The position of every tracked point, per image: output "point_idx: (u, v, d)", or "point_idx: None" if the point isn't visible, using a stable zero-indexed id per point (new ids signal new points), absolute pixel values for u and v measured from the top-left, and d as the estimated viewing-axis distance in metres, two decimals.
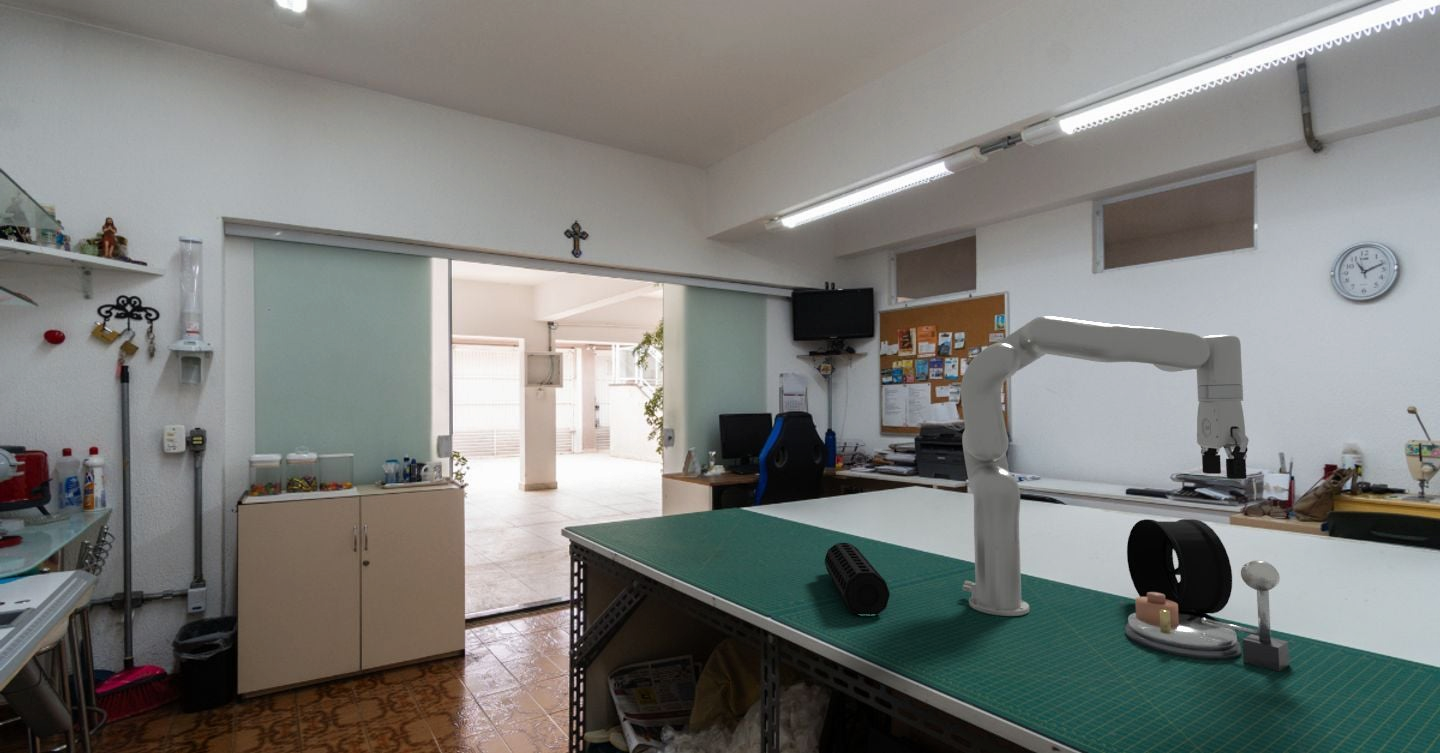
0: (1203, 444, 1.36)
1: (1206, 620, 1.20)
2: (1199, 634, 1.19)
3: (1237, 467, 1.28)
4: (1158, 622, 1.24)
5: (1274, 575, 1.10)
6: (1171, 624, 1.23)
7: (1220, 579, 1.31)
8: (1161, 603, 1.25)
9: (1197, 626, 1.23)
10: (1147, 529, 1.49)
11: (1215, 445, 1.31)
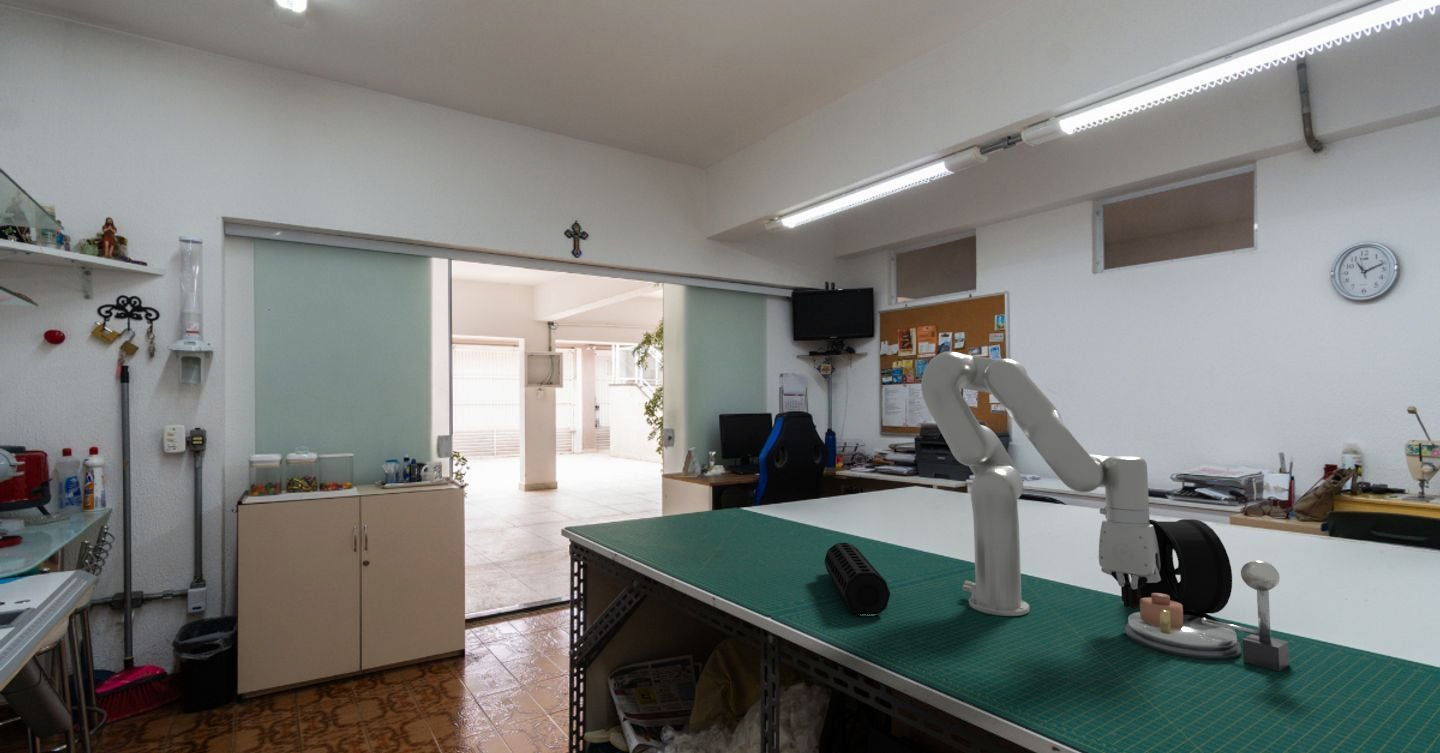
0: (1115, 569, 1.31)
1: (1206, 620, 1.20)
2: (1199, 634, 1.19)
3: (1138, 596, 1.29)
4: None
5: (1274, 575, 1.10)
6: (1176, 625, 1.23)
7: (1220, 579, 1.31)
8: (1166, 604, 1.25)
9: (1197, 626, 1.23)
10: None
11: (1142, 573, 1.27)
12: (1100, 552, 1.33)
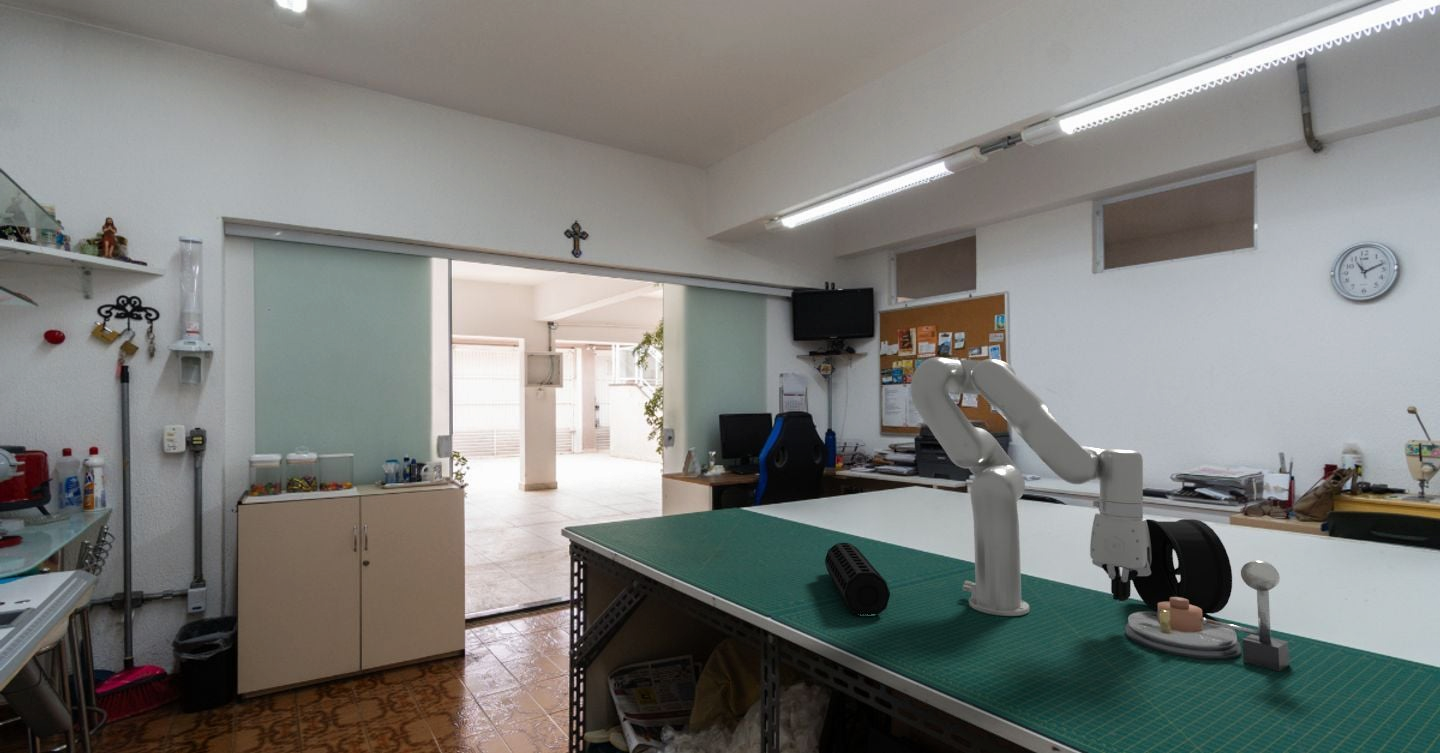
0: (1106, 561, 1.31)
1: (1206, 620, 1.20)
2: (1199, 634, 1.19)
3: (1128, 589, 1.30)
4: (1183, 628, 1.20)
5: (1274, 575, 1.10)
6: (1196, 630, 1.20)
7: (1220, 579, 1.31)
8: (1185, 608, 1.22)
9: None
10: None
11: (1133, 566, 1.27)
12: (1092, 544, 1.33)
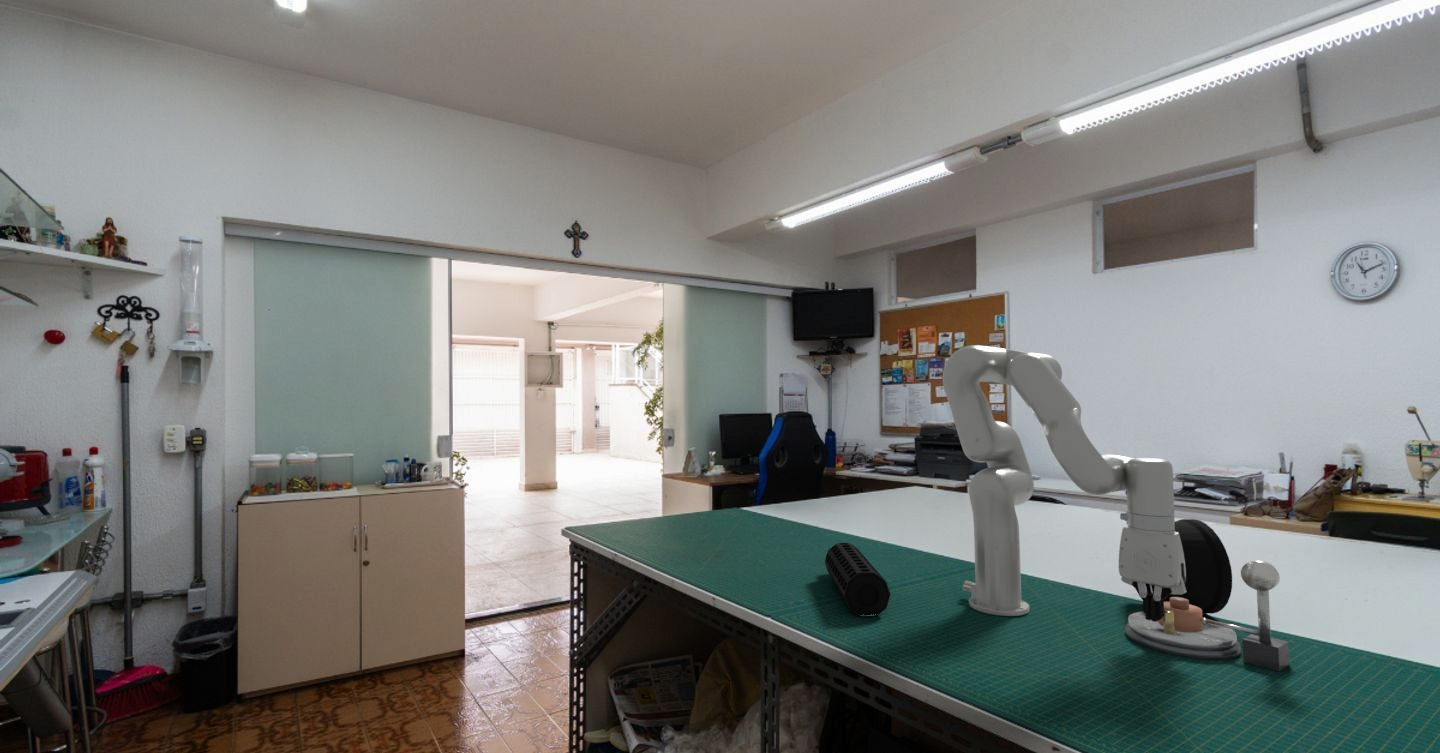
0: (1137, 579, 1.22)
1: (1206, 620, 1.20)
2: (1201, 634, 1.19)
3: (1161, 609, 1.21)
4: (1185, 628, 1.20)
5: (1274, 575, 1.10)
6: (1197, 630, 1.20)
7: (1220, 579, 1.31)
8: (1186, 608, 1.22)
9: None
10: None
11: (1166, 584, 1.18)
12: (1120, 560, 1.24)
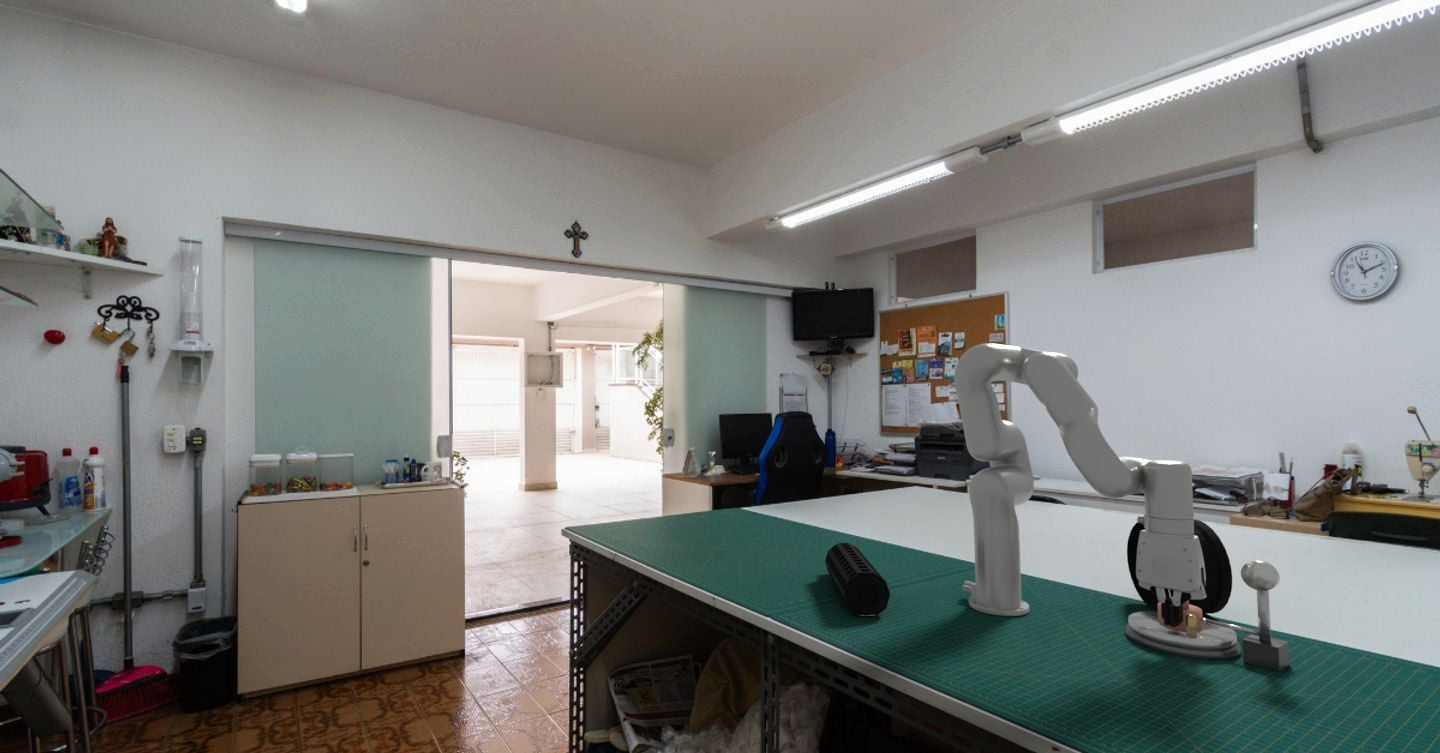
0: (1155, 583, 1.19)
1: (1206, 620, 1.20)
2: (1210, 632, 1.20)
3: (1180, 614, 1.18)
4: None
5: (1274, 575, 1.10)
6: (1202, 628, 1.21)
7: (1220, 579, 1.31)
8: (1188, 608, 1.22)
9: None
10: None
11: (1186, 589, 1.15)
12: (1138, 565, 1.22)
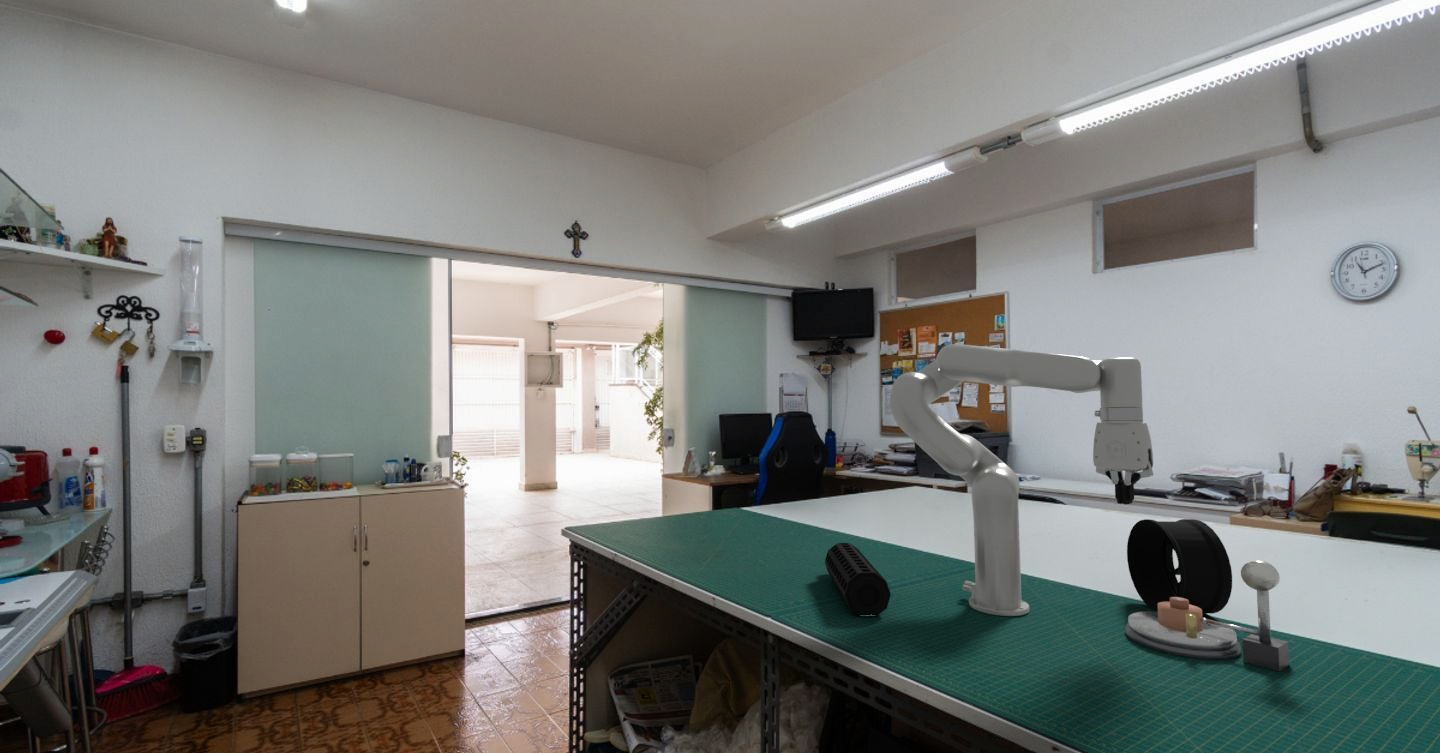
0: (1109, 466, 1.34)
1: (1206, 620, 1.20)
2: (1210, 632, 1.20)
3: (1131, 493, 1.32)
4: None
5: (1274, 575, 1.10)
6: (1202, 628, 1.21)
7: (1220, 579, 1.31)
8: (1188, 608, 1.22)
9: None
10: (1147, 529, 1.49)
11: (1135, 467, 1.30)
12: (1094, 452, 1.36)
